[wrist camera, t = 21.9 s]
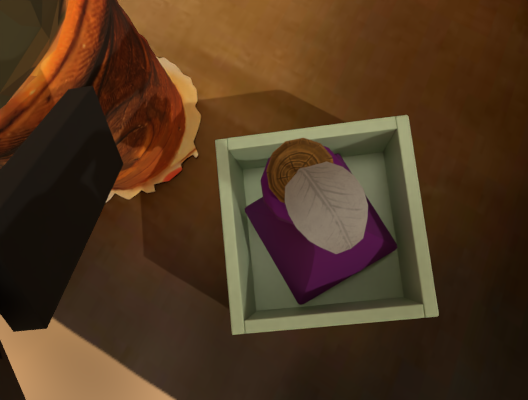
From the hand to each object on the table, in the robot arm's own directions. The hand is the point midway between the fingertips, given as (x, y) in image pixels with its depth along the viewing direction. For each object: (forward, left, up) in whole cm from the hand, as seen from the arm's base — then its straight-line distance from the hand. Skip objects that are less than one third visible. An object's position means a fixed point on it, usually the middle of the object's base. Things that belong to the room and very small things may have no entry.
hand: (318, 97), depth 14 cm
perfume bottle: (0, +2, -21) cm, 21 cm away
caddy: (0, +2, -22) cm, 22 cm away
